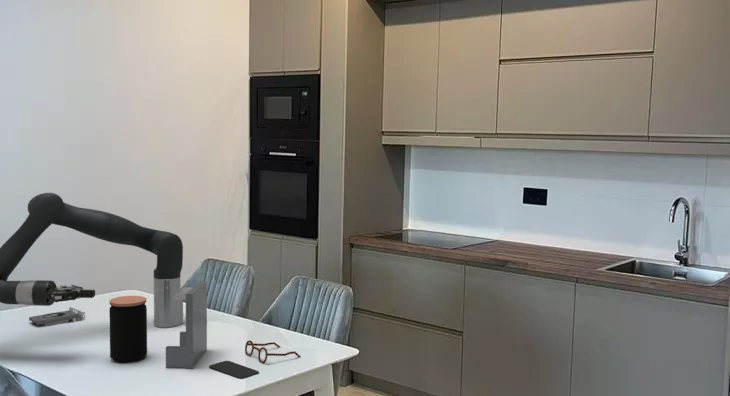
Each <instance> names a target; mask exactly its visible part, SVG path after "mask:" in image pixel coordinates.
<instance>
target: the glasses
mask: <svg viewBox="0 0 730 396" xmlns="http://www.w3.org/2000/svg"><path fill="white" fill-rule="evenodd" d="M270 345H275V347H277V348H281V345H279V344H278V343H276V342H275V341H274V342H273V341H272V342H267V343H254V342H253V341H252V340H247V341H246V342H245V346H244V353H245V356H247V357H252V355H253V353H254V350H256V351H258V353H257V356H258V358H257V360H258V362H259V363H260V364H265V363H266V362H267V360H268V357H269V356H270V357H271V356H272V357H273V356H274V357H279V356H280V357H286V356H289V355H294V354H295V356H296V357H298V358H302V357H301V355H300V354H298V352H296V351H289V352H285V353H274V352H273V353H268V349H267V348H266V346H270ZM248 346H250V347H251V350H250V353H248ZM259 346H260V348H259ZM262 351H264V353H265V355H264V356H265V357H264V360H263V361H262V359H261V352H262Z"/></svg>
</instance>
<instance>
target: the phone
mask: <svg viewBox="0 0 730 396" xmlns="http://www.w3.org/2000/svg"><path fill="white" fill-rule="evenodd" d="M208 369H210V370H212V371H214V372H218V373H221V374H223V375H226V376H230V377H232V378H235V379H237V380H244V379H247V378H250V377H253V376H257V375H258V374H260V371H259V370H256V369H254V368H250V367H247V366H246V365H242V364H239V363H236V362H233V361H231V360H223V361H220V362H216V363H212V364H210V365H209V366H208Z"/></svg>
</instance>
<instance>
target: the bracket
mask: <svg viewBox="0 0 730 396" xmlns="http://www.w3.org/2000/svg"><path fill="white" fill-rule="evenodd" d="M207 282H208V281H206V280H201V281H198V283H196V284H195V285H194V286H192V287H181V288H180V289H179V290H178V291H177V292H175V300H183V301H185V331H179V345H166V346H165V368H166V369H186V370H189V369H190V370H194V368H195V366H196V365H197V364H198V363H199V361H201V358H203V356H204V355H205V353H206V352H207V350H208V324H207V323H208V320H207V319H208V316H207V315H208V314H207V312H208V310H207V309H208V303H207V302H208V299H207V298H208V297H207V294H208V293H207V292H208V291H207V289H208V288H207V286H208V285H207Z"/></svg>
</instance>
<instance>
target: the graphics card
mask: <svg viewBox="0 0 730 396" xmlns="http://www.w3.org/2000/svg"><path fill="white" fill-rule="evenodd" d="M68 308H69V309H68V310H63V311H57V312H51V313H45V314H41V315H39V314H38V315H34V316H29V317H28V321H29V322H31V323H34V324H36V325H42V326H45V327H47V326H46V325H48V326H52V324H54V325H59V323H60V324H65V323H66V324H71V323H76V322H77V323H78V322H82V321H86V312H85V311H81V310H79V309H76V308H74V307H71V306H70V307H68Z"/></svg>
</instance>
